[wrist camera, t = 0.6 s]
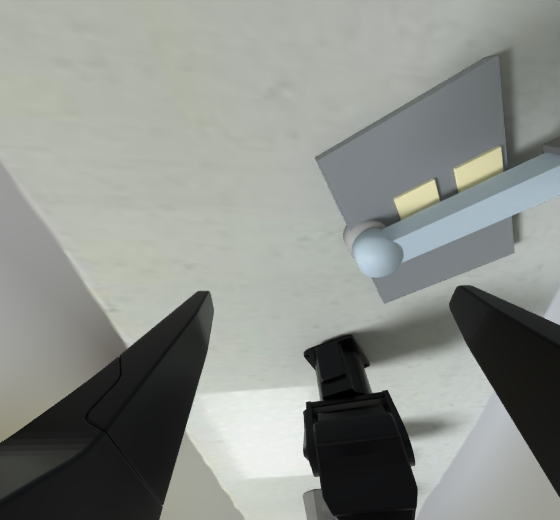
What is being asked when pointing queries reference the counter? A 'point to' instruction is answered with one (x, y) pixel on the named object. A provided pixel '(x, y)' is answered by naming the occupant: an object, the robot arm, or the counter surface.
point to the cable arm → (461, 214)
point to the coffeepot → (316, 506)
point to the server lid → (425, 173)
